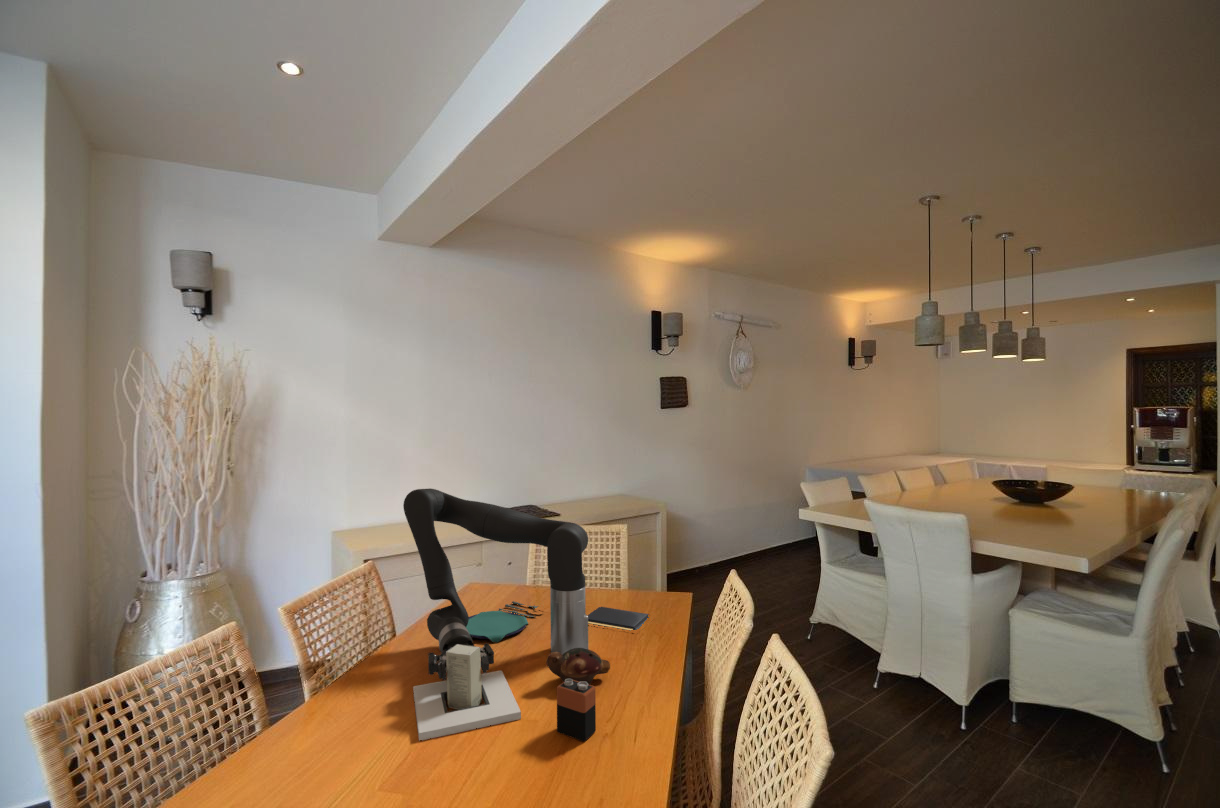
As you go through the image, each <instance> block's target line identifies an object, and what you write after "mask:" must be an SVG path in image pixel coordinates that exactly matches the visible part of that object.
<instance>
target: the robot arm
mask: <svg viewBox="0 0 1220 808" xmlns="http://www.w3.org/2000/svg"><path fill="white" fill-rule="evenodd" d="M403 512H404V515H405V518H406V521H407V524H408V526H409V529H410V531H411V535H412V537H413V540H414V542H415V545H416V548H417V551H418V554H419V557H420V561H421V564H422V568H423V572H424V574H423V575H424V579H425V582H426V583H425V584H426V588H427V593H428V596H429V599H430V600H432V601H440V600H447V601H449V602H450V603H451V604H450V605H447V606H443V607H441V608H438V609H434V610H433V611H432V612H430V613H429V615H428V616H427V620H426V625H427V629H428V632H429V633H430V635H431V636H432V637H433V638H434V639H435V640H436V641H438V648H439V651H440V654H435V652H429V653H428V654H427V655H428V656H427V657H428V660H427V661H428V663H427V664H428V675H430V676H431V675H435V673H436V674H437V675H438V678H439V679H440V680H442V681H446V680H447V665H446V651H448V650H449V649H451V648H452V647H454V646H455V645H457V644H460V645H468V646H475V644H474V643H475V642H474V641H473V637H471V636H470V633H469V631H468V630H467V629H466V626H467V624H468V621H469V617H470V616H469V613H468V611H467V609H466V607H465V606H464V604H463V602H462V600H461V598H460V596H459V594H458V591H457V588H456V585H455V582H454V581H455V580H454V576H453V571H452V566H451V564H450V561H449V559H448V556H447V554H446V552H445V550H444V548H443V547H442V545H441V543H440V540H439V539H438V536H437V532H436V527H435V522H440V523H446V524H452V525H457V526H459V527H460V528H463V529H464V530H466V531H468V532H470V533H471V534H473V535H475V536H477V537H480V538H484V539H487V540H490V541H494V542H499V543H506V544H531V545H532V544H533V545H539V546H543V547H546V555H547V556H546V557H547V574H548V578H549V581H550V582H549V583H550V584H549V586H550V589H549V590H550V592H549V594H550V596H549V597H550V606H549V607H550V654H551V653H552V652H560V653H561V654H562V655H563V654H564V653H565V652H567V651H568V650H570V649H574V648H585V649H589V626H588V616H587V615H588V614H586V576H585V573H584V572H583V553H584V552H585V550H586V548H588V545H589V537H588V533H587V531H586V530H585V528H583V526H582V525H579V524H577V523H575V522H572V521H571V522H570V521H563V520H562V521H561V520H557V519H548V518H543V517H539V516H536V515H533V514H531V513H530V514H529V513H526V512H523V511H519V510H514V509H513V508H512V509H511V508H509V507H504V506H500V505H496V504H492V503H487V502H483V501H475V500H469V499H464V498H459V497H457V496H455V495H452V494H450V493H446V492H443V491H441V490H439V489H436V488H429V487H428V488H417V489H413V490H412V491H410V492H408V493H407V495H406V496H405V498H404V499H403ZM480 658H481V672H482V674H484V673H488V672H487V671H489V670H490V665H493V664H494V663H495V651H494V650H493V648H492V646H491V645H490V644H489V643H484V644H483V646H482V647H480Z"/></svg>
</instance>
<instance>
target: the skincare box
mask: <svg viewBox="0 0 1220 808" xmlns="http://www.w3.org/2000/svg"><path fill="white" fill-rule="evenodd" d="M480 648H481V647H480V646H475V645H474V646H468V645H460V644H457V645H455V646H454V647H452V648H451V649H449V650H448V651H446V665H447V671H446V680H447V697H448V700H447V709H448V708H449V709H453V710H457V709H462V708H467V707H472V706H477V705H481V703H482V702H483V699H482V690H481V674H482V669H481V657H480Z"/></svg>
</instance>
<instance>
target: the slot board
mask: <svg viewBox="0 0 1220 808" xmlns="http://www.w3.org/2000/svg"><path fill="white" fill-rule="evenodd" d="M412 689H413V690H412V691H413V692H412V693H414V694H413V701H414V702H415V703H414V709H415V710H414V711H415V719H416V720H415V721H416V725H417V736H418V742H420V740H422V741H425V740H430V738H431V739H435V738H440V737H444V736H449V735H452V734H453V735H454V734H457V733H462V732H463V733H464V732H468V731H472V730H476V728H477V729H481V728H486V727H490V725H491V726H495V725H499V724H503V723H509V722H513V721H518V720H521V719H522V712H521V709H520V706H519V704H518V702H517V700H516V698H515V696H514V694H513V691H512V689H511V688H510V684H509V683H508V680H507V679H506V676H505V674H504V672H503V670H496V671H490V672H487V673H481V690H482V702H483V703H482V704H479V705H477V706H472V707H467V708H462V709H453V710H449V711H448V705H447V702H446V701H448V697H447V679H446V680H444V681H443V680H441V681H435V682H429V683H424V684H420V685H414V686H412Z"/></svg>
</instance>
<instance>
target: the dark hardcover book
mask: <svg viewBox="0 0 1220 808" xmlns="http://www.w3.org/2000/svg"><path fill="white" fill-rule="evenodd" d="M595 609H596V610H595ZM595 609H594V610H593V611H591V612H590V613H589V614H586V615H587V616H588V624H593V625H598V626H604V627H612V628H617V629H622V630H629V631H631V630H637V629H639V628H640V627H641V626H642V624H644V622H645V621H646V620H647V618H649V617H648V615H650V614H649V613H643V612H637V611H632V610H624V609H618V608H613V607H607V606H599V607H597V608H595Z"/></svg>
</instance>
